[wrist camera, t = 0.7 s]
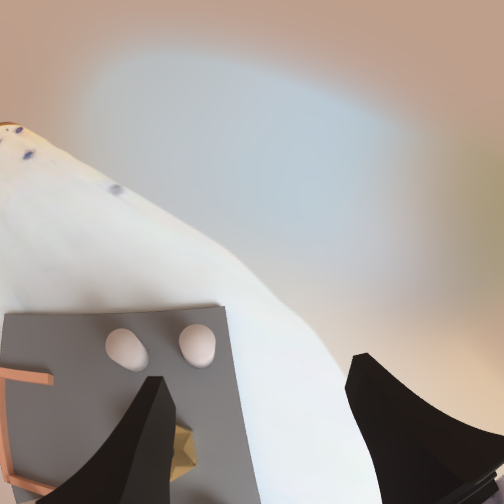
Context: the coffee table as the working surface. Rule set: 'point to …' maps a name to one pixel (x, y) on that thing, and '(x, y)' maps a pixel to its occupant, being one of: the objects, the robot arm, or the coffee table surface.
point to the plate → (125, 395)
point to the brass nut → (183, 452)
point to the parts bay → (3, 454)
